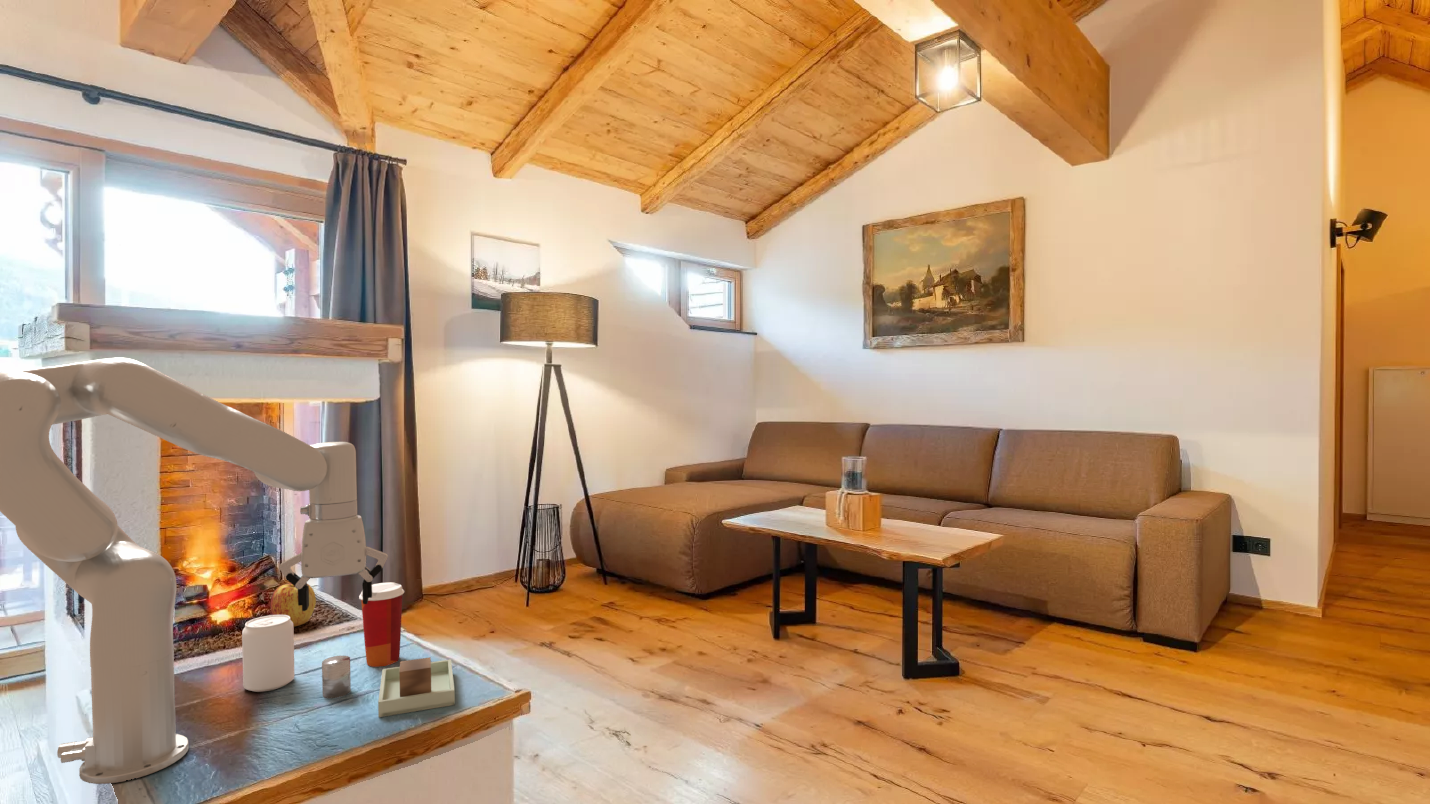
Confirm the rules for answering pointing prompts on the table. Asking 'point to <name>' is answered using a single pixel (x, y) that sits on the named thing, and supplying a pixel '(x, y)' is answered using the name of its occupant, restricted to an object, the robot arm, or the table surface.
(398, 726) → the table surface
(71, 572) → the robot arm
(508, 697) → the table surface
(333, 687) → the metal cylinder
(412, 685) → the walnut block
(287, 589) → the apple
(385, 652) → the coffee cup
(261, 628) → the beverage can
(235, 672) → the table surface
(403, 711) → the parts tray
